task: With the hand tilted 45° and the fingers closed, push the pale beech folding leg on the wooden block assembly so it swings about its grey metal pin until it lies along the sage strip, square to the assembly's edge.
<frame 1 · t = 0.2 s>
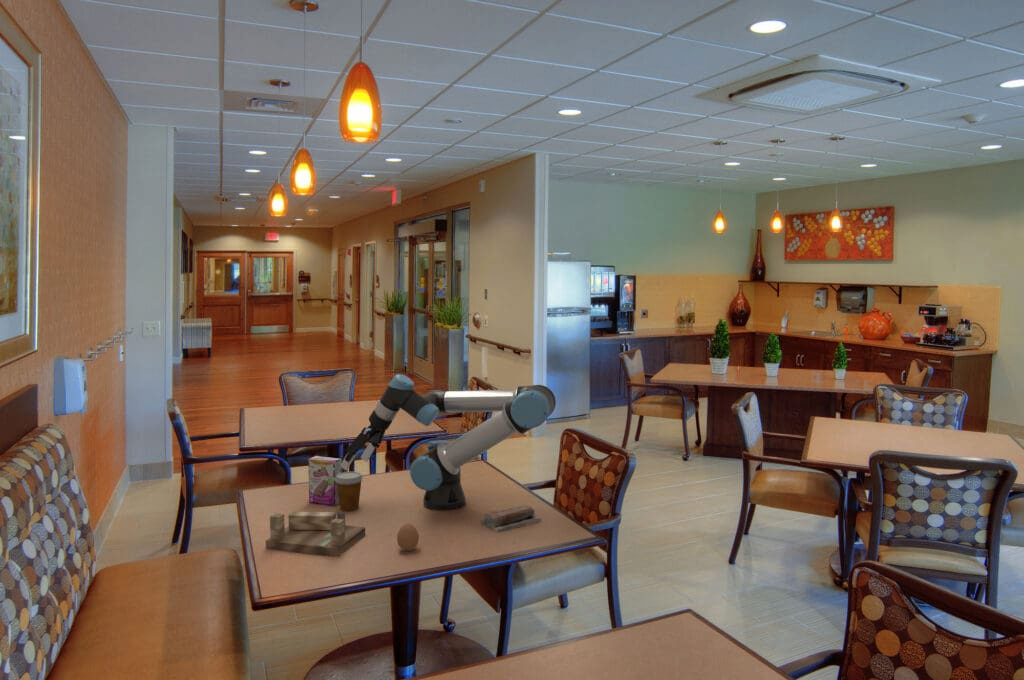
hand: (353, 463, 248), 16 cm above the table, tool tilted 35°, fingers open, 13 cm apart
disposable coffee cup: (349, 508, 251), on the table
candy bar box: (325, 503, 257), on the table
wooden block assembly: (316, 541, 220), on the table
egg: (408, 551, 214), on the table
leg: (312, 520, 224), point 5 cm above the table, hinge at 0.0°
stapler: (510, 524, 238), on the table
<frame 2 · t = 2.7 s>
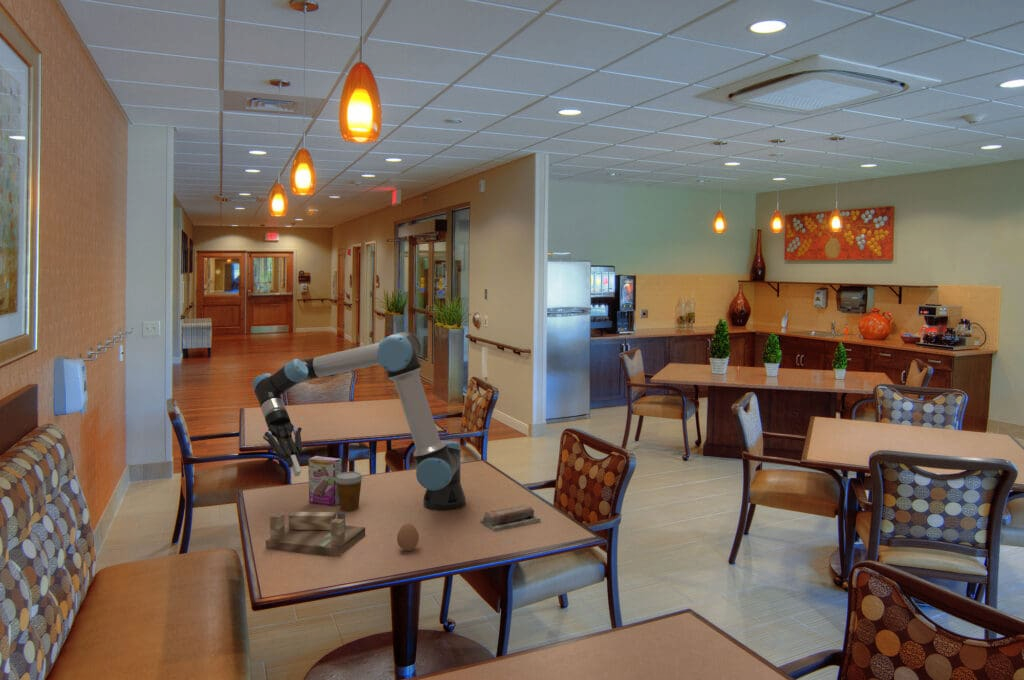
hand: (298, 473, 229), 18 cm above the table, tool tilted 45°, fingers closed
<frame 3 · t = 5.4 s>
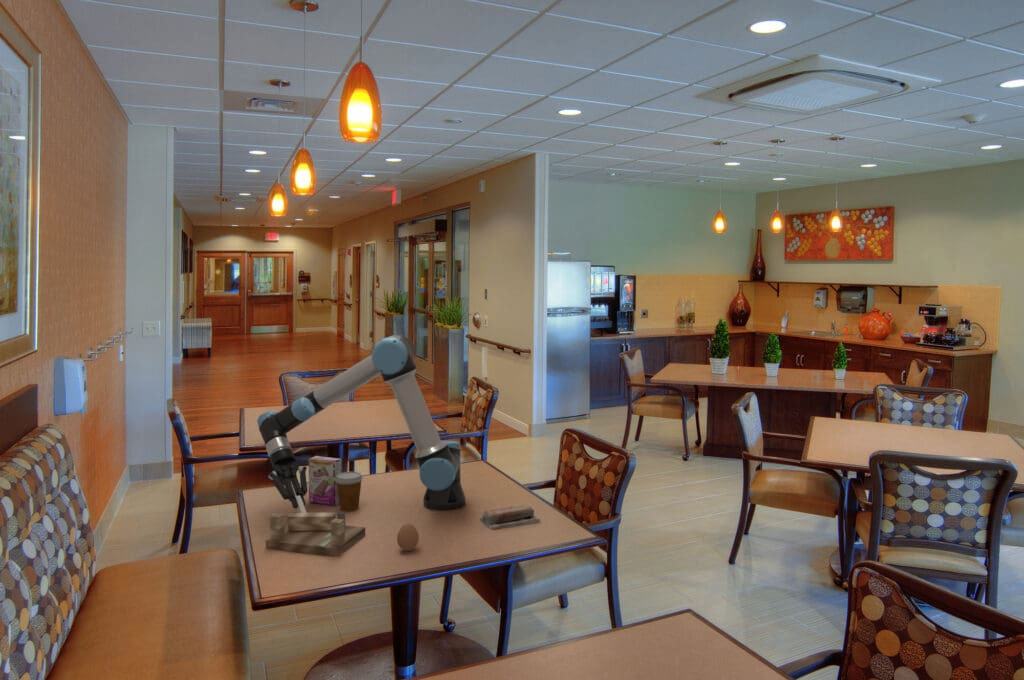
hand: (303, 515, 227), 6 cm above the table, tool tilted 45°, fingers closed
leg: (311, 521, 224), point 5 cm above the table, hinge at 3.9°, touching gripper
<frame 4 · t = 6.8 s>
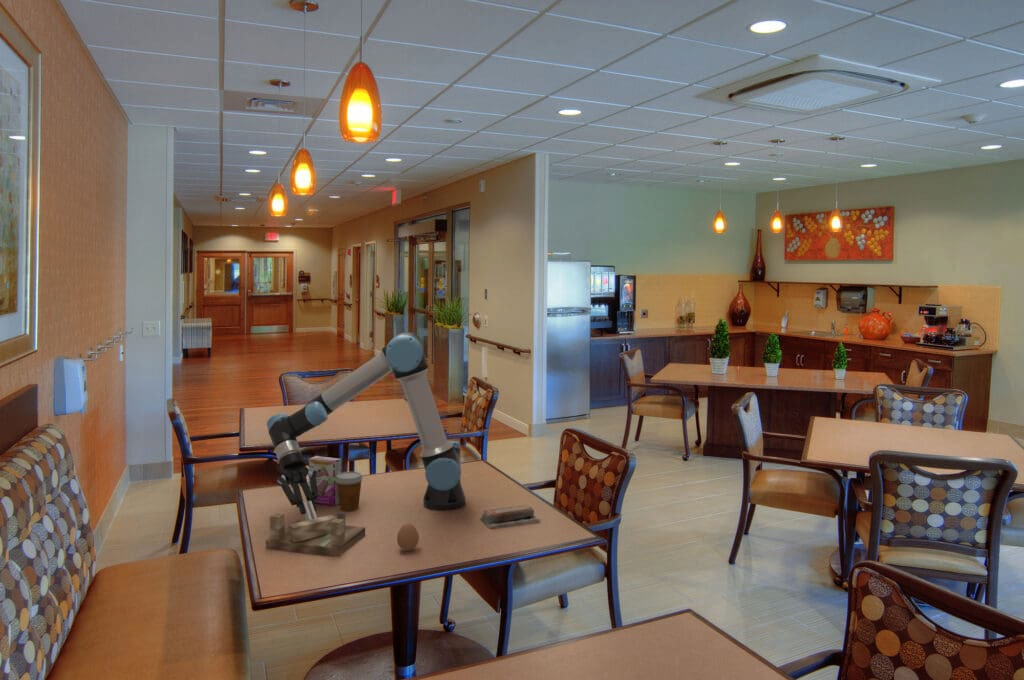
hand: (312, 521, 221), 6 cm above the table, tool tilted 45°, fingers closed, pressing on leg
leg: (313, 528, 218), point 5 cm above the table, hinge at 43.3°, touching gripper
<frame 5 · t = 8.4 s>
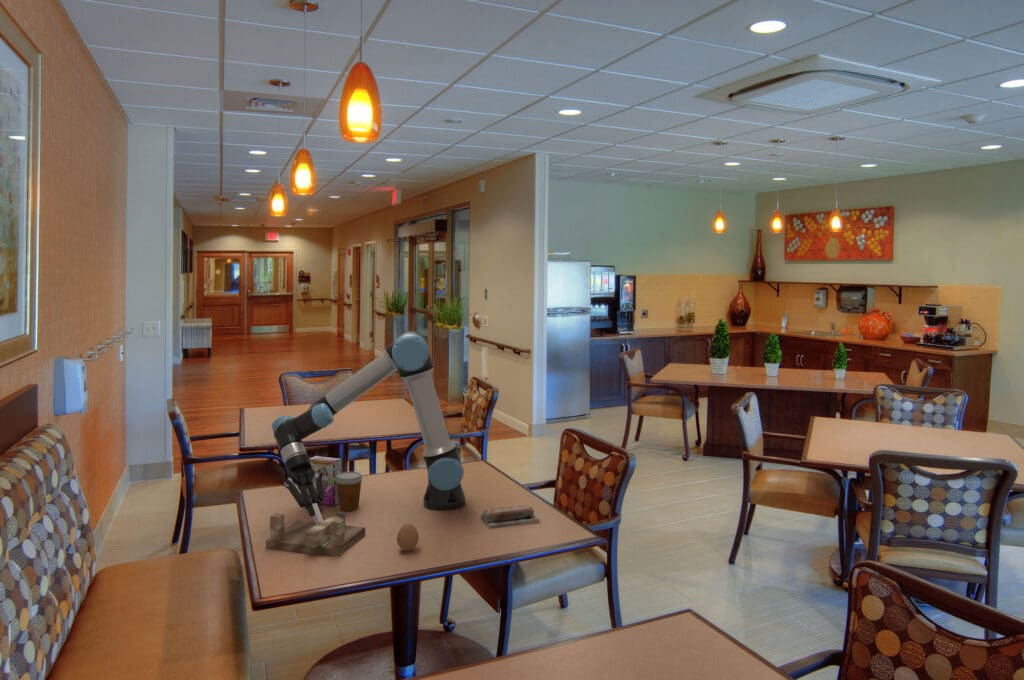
hand: (320, 523, 218), 6 cm above the table, tool tilted 45°, fingers closed
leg: (324, 531, 215), point 5 cm above the table, hinge at 73.3°, touching gripper
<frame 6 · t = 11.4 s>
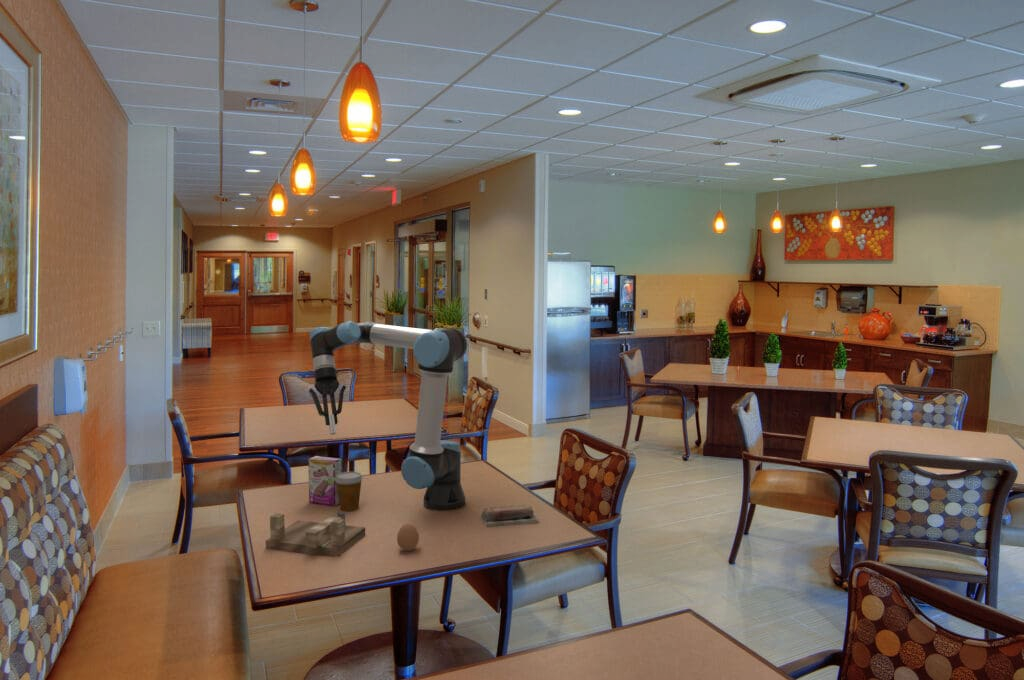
hand: (333, 433, 245), 28 cm above the table, tool tilted 30°, fingers closed
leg: (324, 531, 215), point 5 cm above the table, hinge at 73.3°
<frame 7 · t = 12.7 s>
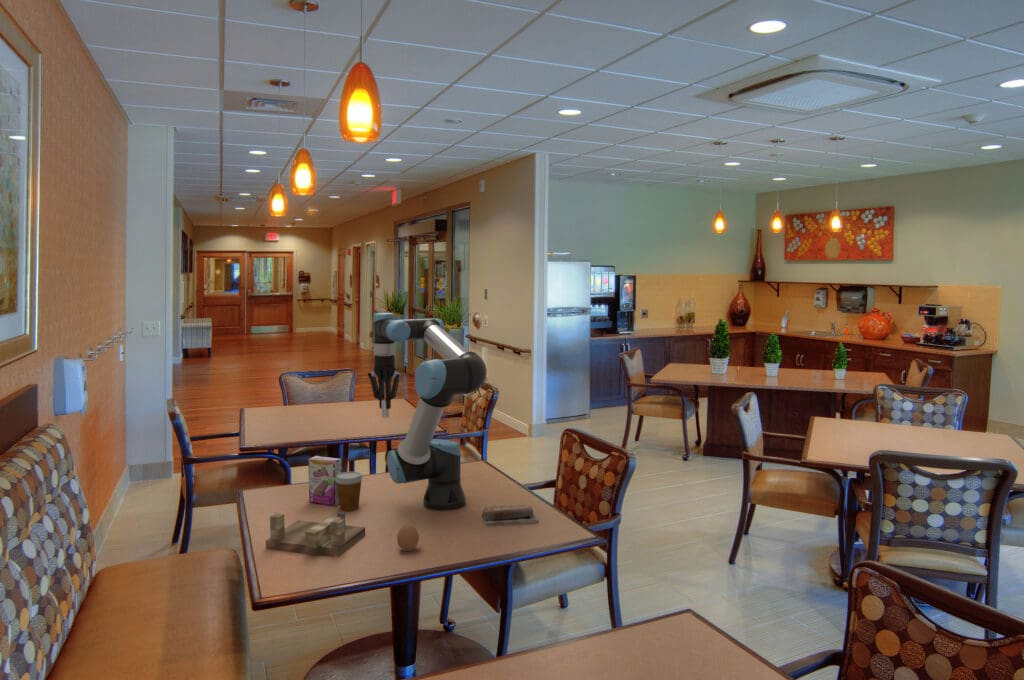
hand: (385, 417, 264), 29 cm above the table, tool pointing down, fingers closed
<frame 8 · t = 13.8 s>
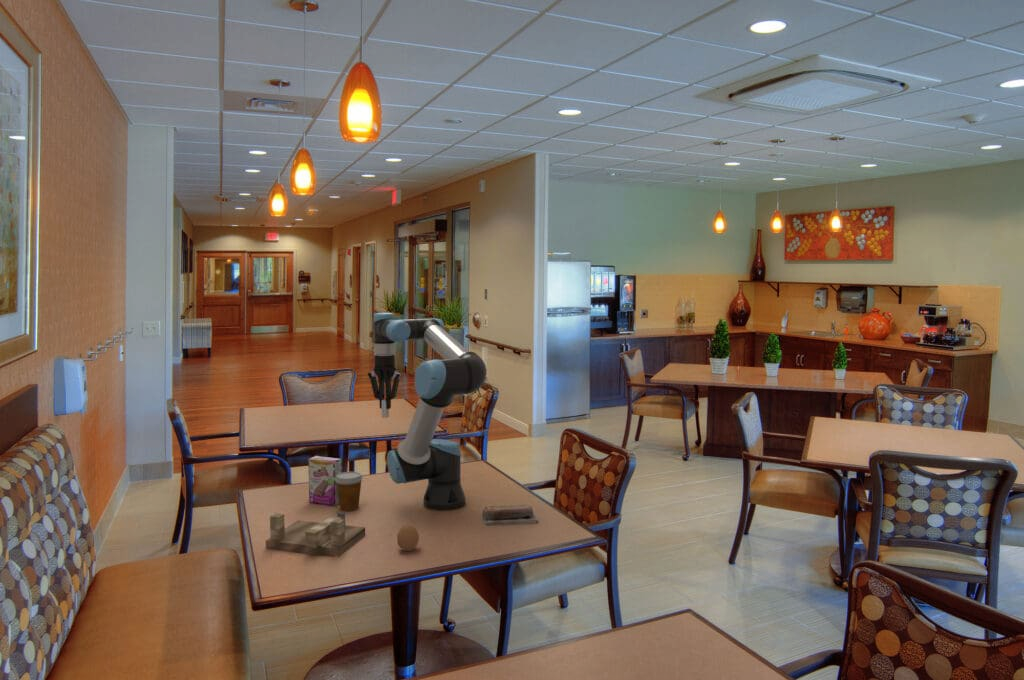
hand: (385, 417, 264), 29 cm above the table, tool pointing down, fingers closed
at the end: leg at +73° (first picture: +0°) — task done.
